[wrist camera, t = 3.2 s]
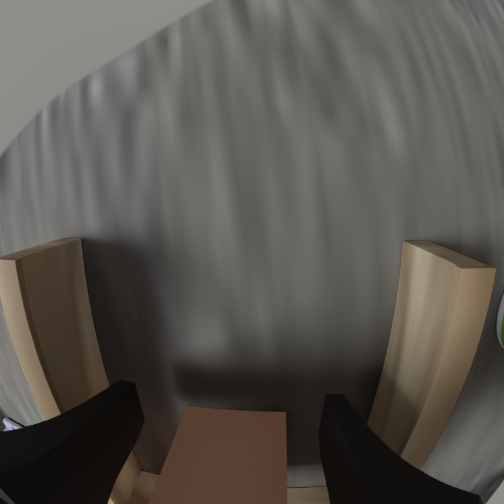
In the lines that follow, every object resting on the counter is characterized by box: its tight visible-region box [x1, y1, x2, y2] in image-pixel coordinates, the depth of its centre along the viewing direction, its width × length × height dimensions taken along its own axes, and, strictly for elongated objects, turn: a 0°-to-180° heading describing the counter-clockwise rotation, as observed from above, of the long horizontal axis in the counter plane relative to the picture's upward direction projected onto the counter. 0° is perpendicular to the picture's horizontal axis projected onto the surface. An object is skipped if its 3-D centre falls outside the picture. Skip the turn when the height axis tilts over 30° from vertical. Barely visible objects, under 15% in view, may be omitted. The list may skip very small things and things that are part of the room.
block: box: [148, 406, 287, 504], centre depth 9 cm, size 4×4×7 cm
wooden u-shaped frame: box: [0, 238, 496, 504], centre depth 10 cm, size 15×16×4 cm
